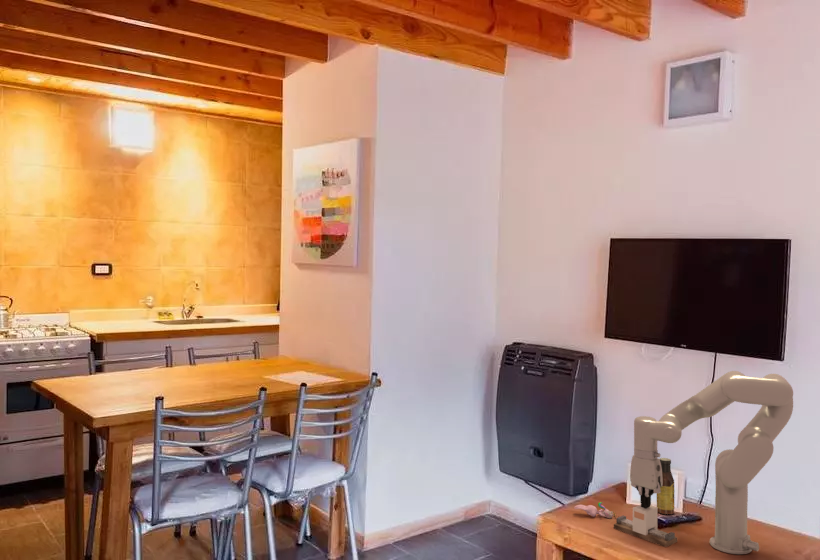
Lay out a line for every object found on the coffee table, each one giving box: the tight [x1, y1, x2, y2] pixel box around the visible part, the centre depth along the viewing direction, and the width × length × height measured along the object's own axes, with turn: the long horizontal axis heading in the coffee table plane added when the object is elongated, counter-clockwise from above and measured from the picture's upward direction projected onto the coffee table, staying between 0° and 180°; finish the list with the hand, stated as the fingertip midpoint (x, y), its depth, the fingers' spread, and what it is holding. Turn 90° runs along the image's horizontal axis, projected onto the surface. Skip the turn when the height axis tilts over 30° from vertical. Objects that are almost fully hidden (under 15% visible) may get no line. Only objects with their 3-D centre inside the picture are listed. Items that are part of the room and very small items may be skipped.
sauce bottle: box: [656, 457, 675, 515], centre depth 252 cm, size 6×6×20 cm
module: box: [632, 504, 658, 535], centre depth 232 cm, size 5×7×8 cm
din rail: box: [615, 515, 676, 541], centre depth 232 cm, size 20×4×2 cm, turn 38°
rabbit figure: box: [573, 501, 617, 519], centre depth 248 cm, size 6×6×15 cm
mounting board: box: [613, 522, 678, 548], centre depth 232 cm, size 20×7×2 cm, turn 38°
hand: (645, 506), depth 231 cm, fingers closed
